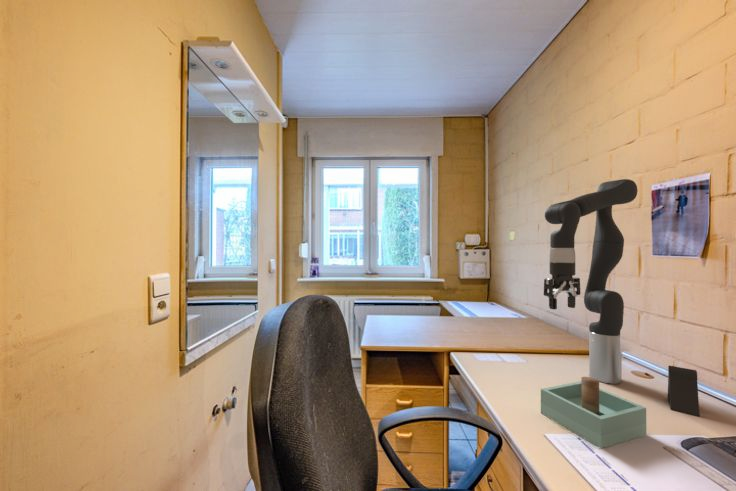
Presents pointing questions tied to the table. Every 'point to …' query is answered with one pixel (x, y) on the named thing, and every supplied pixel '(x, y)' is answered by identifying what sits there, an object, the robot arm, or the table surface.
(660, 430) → the table surface
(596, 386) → the walnut peg
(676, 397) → the phone stand
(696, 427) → the table surface
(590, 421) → the bore box
